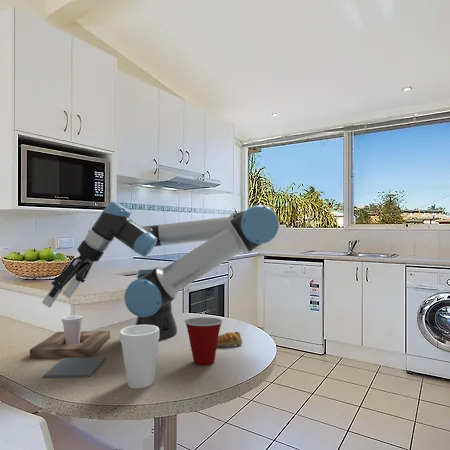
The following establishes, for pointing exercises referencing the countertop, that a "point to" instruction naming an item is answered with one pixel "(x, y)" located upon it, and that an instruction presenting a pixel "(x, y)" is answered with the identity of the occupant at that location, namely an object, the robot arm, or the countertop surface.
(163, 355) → the countertop surface
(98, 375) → the countertop surface
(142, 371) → the foam cup
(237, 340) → the pastry
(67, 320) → the smoothie
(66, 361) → the rubber mat
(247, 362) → the countertop surface
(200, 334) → the plastic cup
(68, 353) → the holder block
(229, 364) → the countertop surface
